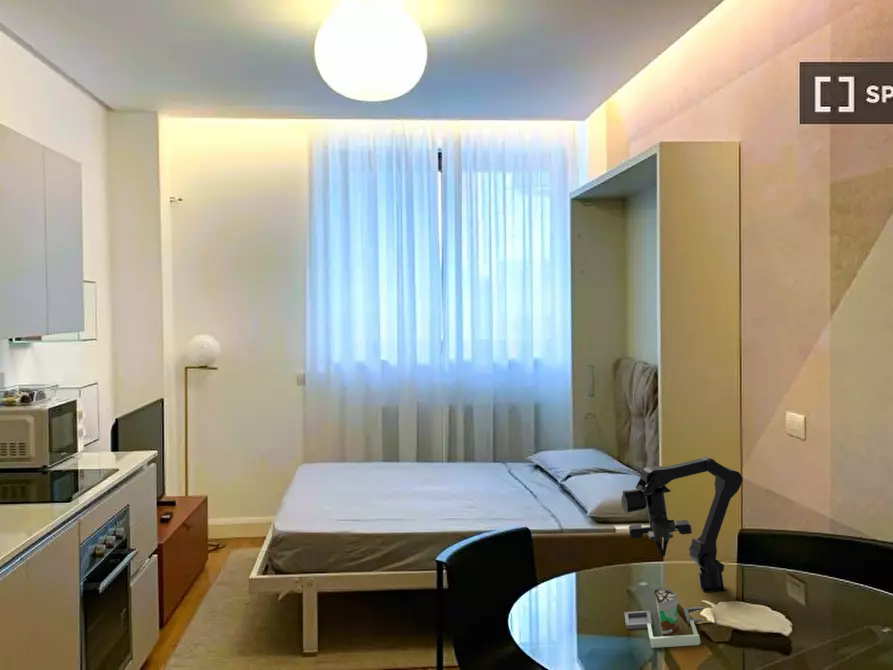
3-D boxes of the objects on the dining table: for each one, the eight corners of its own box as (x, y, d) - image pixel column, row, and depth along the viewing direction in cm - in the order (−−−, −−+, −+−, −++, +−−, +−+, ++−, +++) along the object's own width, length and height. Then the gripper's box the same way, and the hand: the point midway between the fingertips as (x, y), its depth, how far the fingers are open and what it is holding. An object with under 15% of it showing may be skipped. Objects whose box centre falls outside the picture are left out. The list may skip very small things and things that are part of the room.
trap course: (710, 610, 223) (709, 602, 223) (723, 643, 202) (722, 634, 202) (624, 616, 228) (623, 608, 228) (629, 649, 206) (627, 640, 206)
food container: (686, 637, 209) (681, 601, 208) (663, 638, 210) (658, 603, 209) (679, 618, 221) (674, 585, 220) (657, 620, 222) (653, 587, 221)
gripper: (628, 517, 230) (635, 567, 231) (690, 512, 227) (697, 562, 227) (626, 507, 241) (632, 555, 242) (685, 501, 238) (692, 550, 238)
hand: (663, 556), depth 237 cm, fingers closed
